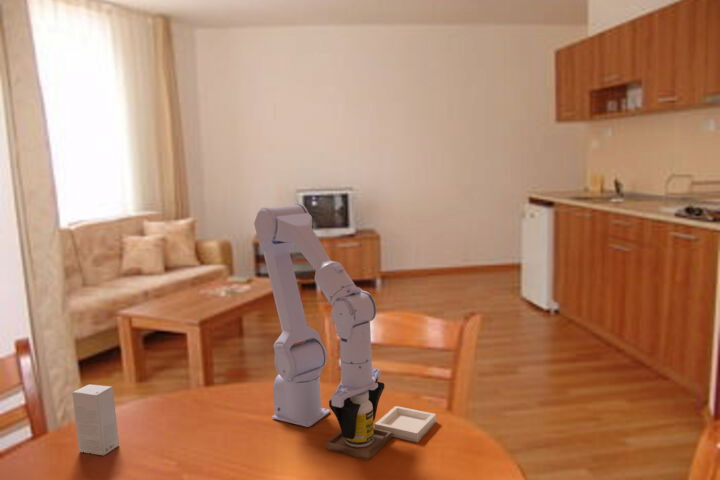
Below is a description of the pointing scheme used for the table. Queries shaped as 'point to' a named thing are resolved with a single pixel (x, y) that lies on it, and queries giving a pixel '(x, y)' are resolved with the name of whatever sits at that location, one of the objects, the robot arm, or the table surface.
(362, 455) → the gray square tray
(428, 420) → the cream tray
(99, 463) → the table surface
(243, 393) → the table surface
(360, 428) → the supplement bottle
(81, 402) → the skincare box
